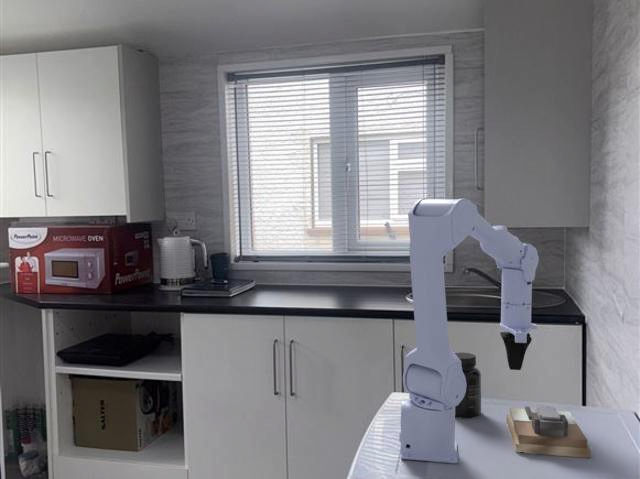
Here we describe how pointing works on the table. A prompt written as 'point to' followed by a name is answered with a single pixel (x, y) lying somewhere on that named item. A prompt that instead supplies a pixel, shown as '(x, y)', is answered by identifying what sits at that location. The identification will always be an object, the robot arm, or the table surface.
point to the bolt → (547, 413)
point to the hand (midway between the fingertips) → (514, 368)
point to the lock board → (546, 434)
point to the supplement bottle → (470, 388)
